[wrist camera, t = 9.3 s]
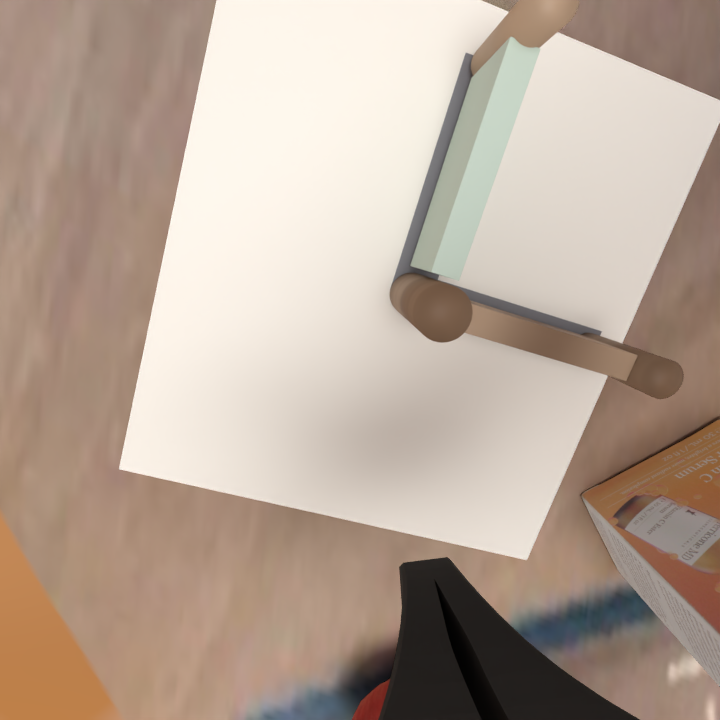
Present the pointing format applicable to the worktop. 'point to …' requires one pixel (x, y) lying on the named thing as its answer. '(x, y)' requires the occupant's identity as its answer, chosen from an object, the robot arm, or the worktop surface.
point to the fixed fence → (528, 335)
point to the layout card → (396, 266)
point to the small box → (670, 538)
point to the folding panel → (485, 131)
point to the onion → (372, 703)
